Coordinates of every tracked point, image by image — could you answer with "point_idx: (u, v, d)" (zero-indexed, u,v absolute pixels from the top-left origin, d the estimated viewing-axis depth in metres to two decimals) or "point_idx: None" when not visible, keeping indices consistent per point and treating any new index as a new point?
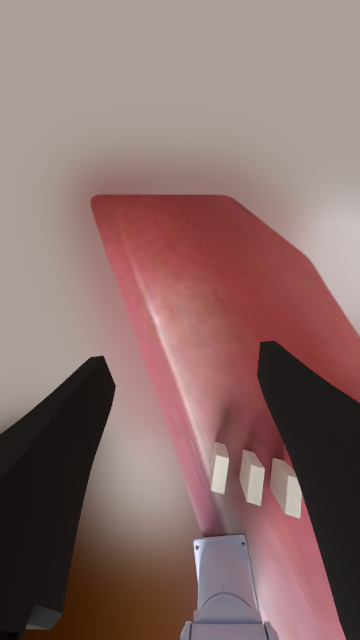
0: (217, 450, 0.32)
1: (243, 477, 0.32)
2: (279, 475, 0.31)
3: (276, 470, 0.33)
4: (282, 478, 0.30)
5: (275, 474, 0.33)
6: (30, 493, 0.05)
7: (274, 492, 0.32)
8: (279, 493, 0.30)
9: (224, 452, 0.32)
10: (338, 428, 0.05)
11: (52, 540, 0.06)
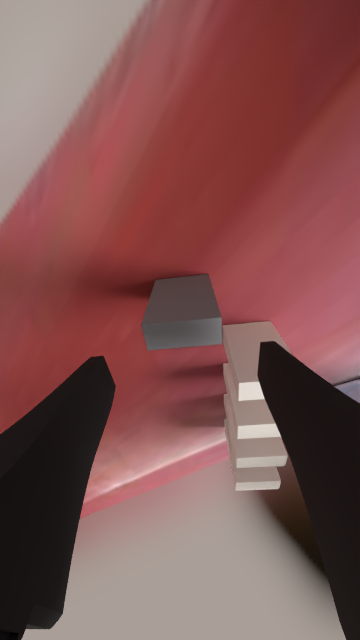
0: (231, 464, 0.24)
1: None
2: None
3: None
4: None
5: None
6: (30, 494, 0.05)
7: None
8: None
9: (231, 460, 0.24)
10: (338, 428, 0.05)
11: (52, 540, 0.06)
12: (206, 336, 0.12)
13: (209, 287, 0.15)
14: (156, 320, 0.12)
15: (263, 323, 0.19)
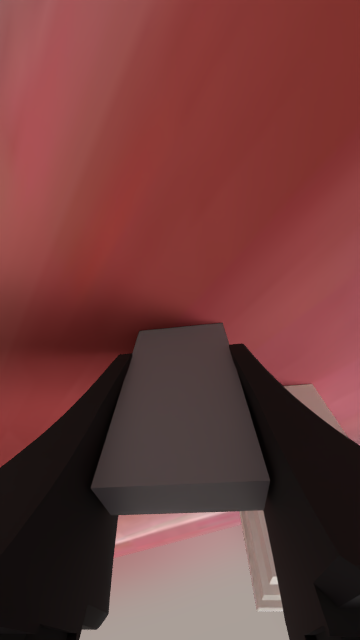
0: (249, 564, 0.18)
1: None
2: None
3: None
4: None
5: None
6: (81, 491, 0.05)
7: None
8: None
9: (249, 561, 0.17)
10: (280, 432, 0.05)
11: (98, 539, 0.06)
12: (233, 501, 0.06)
13: (228, 360, 0.09)
14: (125, 470, 0.06)
15: (303, 389, 0.13)
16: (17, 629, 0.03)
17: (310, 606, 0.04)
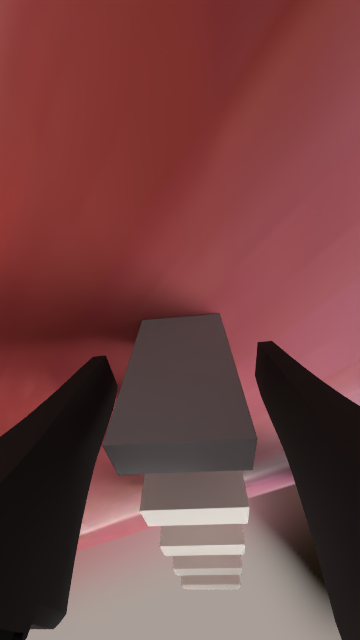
0: None
1: None
2: None
3: None
4: None
5: None
6: (34, 494, 0.05)
7: None
8: None
9: None
10: (334, 429, 0.05)
11: (56, 540, 0.06)
12: (226, 460, 0.07)
13: (224, 344, 0.09)
14: (132, 432, 0.06)
15: None
16: None
17: None
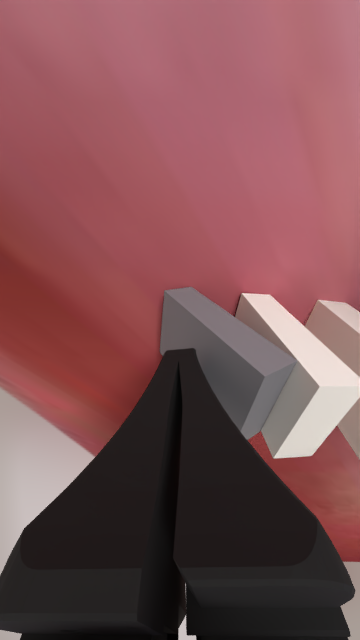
0: None
1: None
2: None
3: None
4: None
5: None
6: (169, 488, 0.05)
7: None
8: None
9: None
10: (189, 437, 0.05)
11: None
12: (277, 383, 0.08)
13: (191, 318, 0.10)
14: None
15: (240, 307, 0.13)
16: (155, 630, 0.03)
17: None
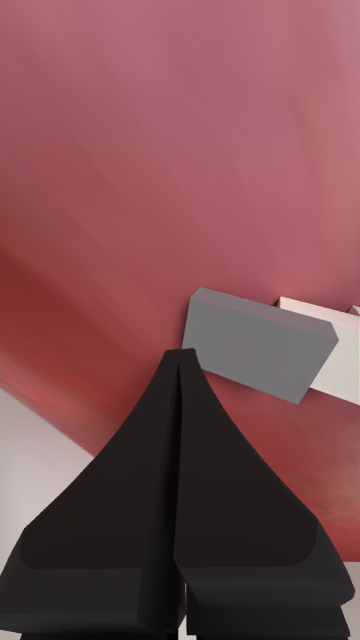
0: None
1: None
2: None
3: None
4: None
5: None
6: (168, 488, 0.05)
7: None
8: None
9: None
10: (189, 437, 0.05)
11: None
12: None
13: (242, 316, 0.11)
14: (297, 392, 0.11)
15: None
16: (155, 630, 0.03)
17: None
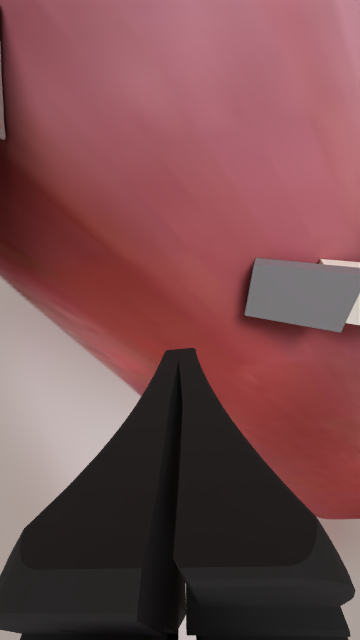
0: None
1: None
2: None
3: None
4: None
5: None
6: (169, 488, 0.05)
7: None
8: None
9: None
10: (189, 437, 0.05)
11: None
12: None
13: (294, 271, 0.15)
14: (339, 322, 0.16)
15: None
16: (155, 630, 0.03)
17: None
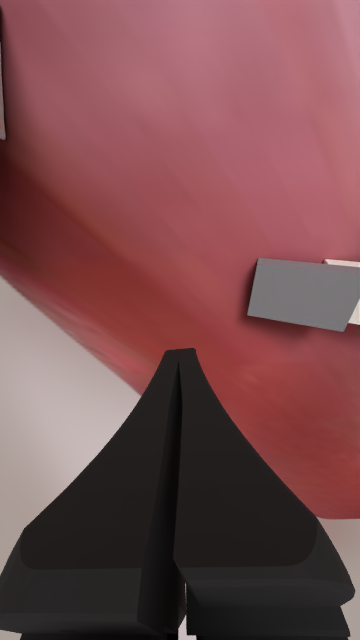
0: None
1: None
2: None
3: None
4: None
5: None
6: (169, 488, 0.05)
7: None
8: None
9: None
10: (189, 437, 0.05)
11: None
12: None
13: (298, 270, 0.15)
14: (342, 322, 0.16)
15: None
16: (155, 630, 0.03)
17: None
